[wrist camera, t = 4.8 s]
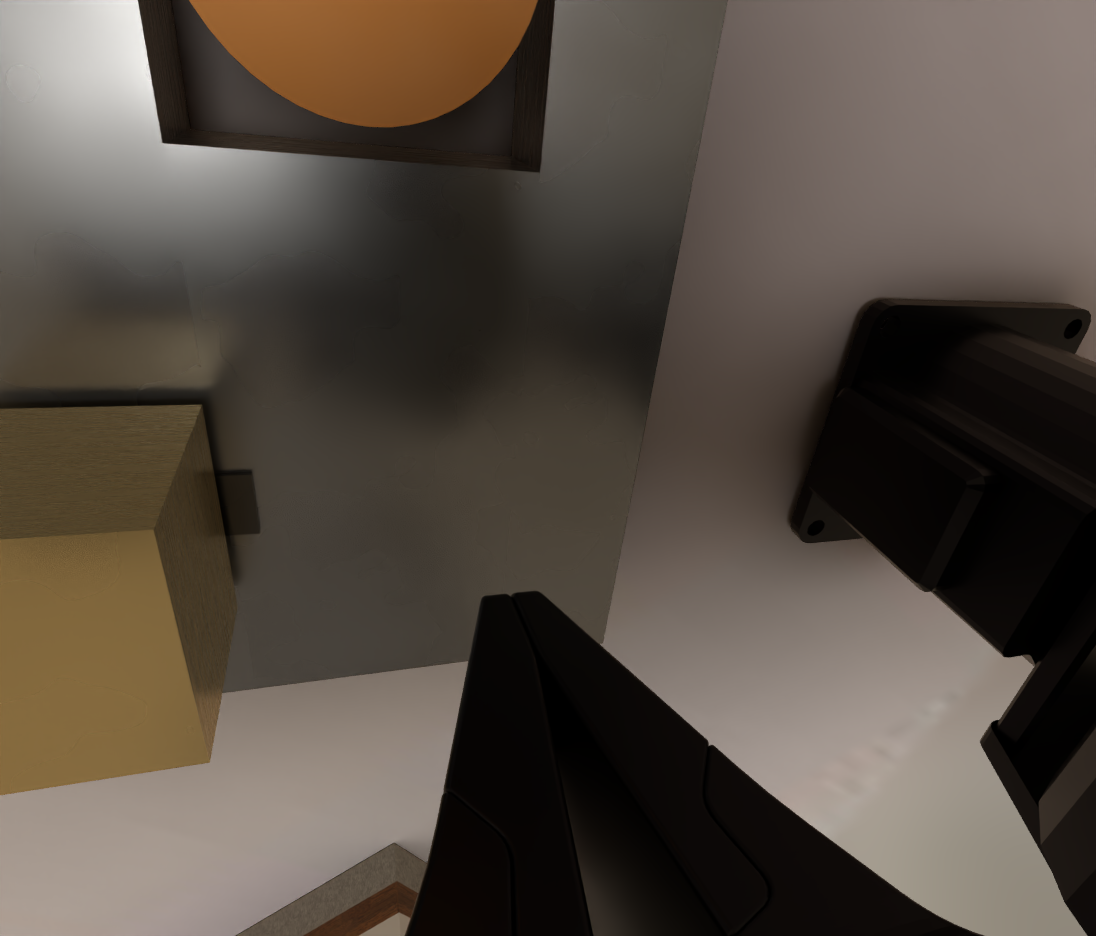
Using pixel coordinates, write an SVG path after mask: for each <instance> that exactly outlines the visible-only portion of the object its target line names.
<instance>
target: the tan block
mask: <svg viewBox="0 0 1096 936" xmlns="http://www.w3.org/2000/svg"><path fill="white" fill-rule="evenodd" d="M237 608H238V606H237V601H236V595H235V589H234V584H233V578H232V572H231V567H230V561H229V555H228V550H227V544H226V538H225V533H224V527H223V521H222V516H221V510H220V504H219V499H218V493H217V487H216V482H215V476H214V470H213V465H212V459H211V453H210V448H209V442H208V436H207V431H206V425H205V419H204V414H203V408H202V405H163V406H114V407H64V408H15V409H0V795H5V794H11V793H17V792H24V791H30V790H37V789H43V788H49V787H56V786H62V785H69V784H75V783H81V782H88V781H94V780H101V779H107V778H113V777H120V776H126V775H133V774H139V773H145V772H152V771H158V770H165V769H171V768H177V767H184V766H190V765H197V764H203V763H209V762H210V758H211V753H212V747H213V742H214V736H215V731H216V725H217V719H218V714H219V708H220V703H221V697H222V692H223V686H224V680H225V675H226V669H227V664H228V658H229V653H230V647H231V641H232V636H233V630H234V625H235V619H236V614H237Z"/></svg>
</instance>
